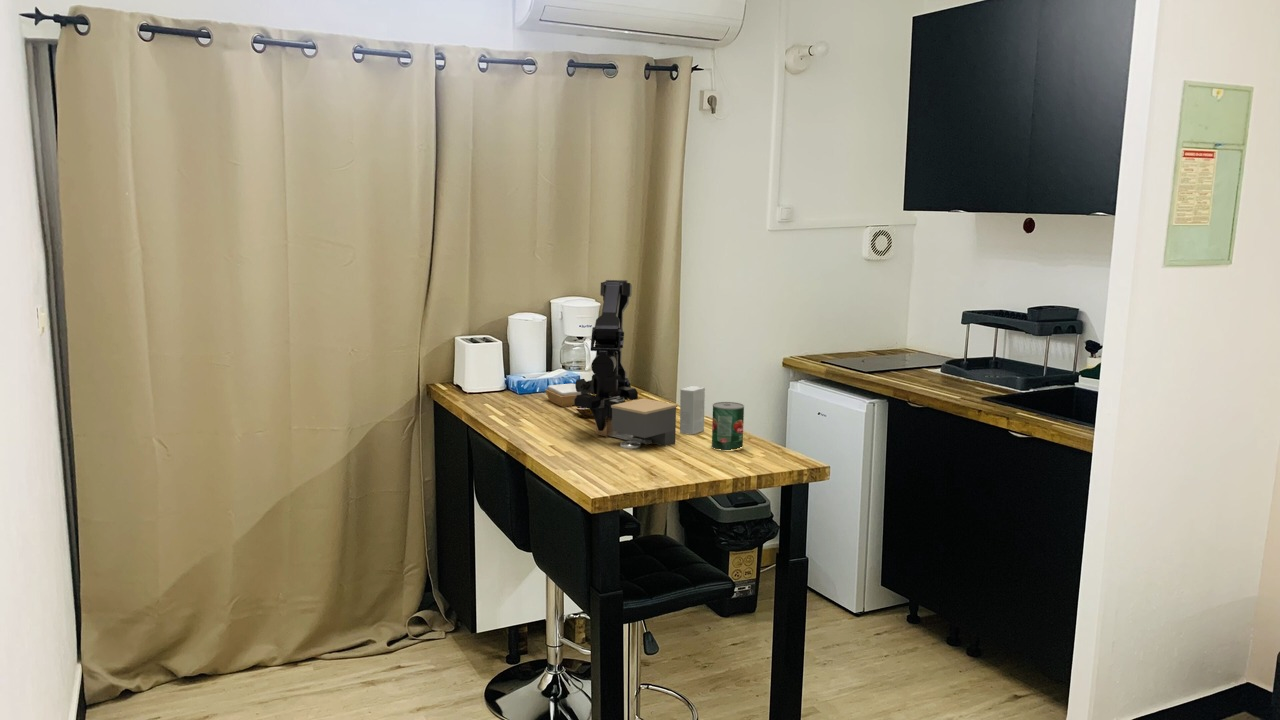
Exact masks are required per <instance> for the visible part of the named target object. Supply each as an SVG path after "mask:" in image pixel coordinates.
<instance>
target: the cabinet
mask: <svg viewBox="0 0 1280 720" xmlns="http://www.w3.org/2000/svg"><path fill="white" fill-rule="evenodd" d="M611 408H612V431H615V432H620V433H624V434H629V435H633V436H638V437H642V438H648V439H652V443H651V444H653V445H657V446H662V447H663V446H664V447H667V446H668V447H669V446H670V445H675V444H676V434H677V433H676V429H677V408H678V404H675V403H670V402H669V403H668V402H664V401H659V400H654V399H650V398H649V399H648V398H639V399H635V400H629V401H626V402H624V403H619V404H614V405H611Z"/></svg>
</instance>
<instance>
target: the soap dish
mask: <svg viewBox="0 0 1280 720" xmlns="http://www.w3.org/2000/svg"><path fill="white" fill-rule="evenodd" d="M575 385H576V383H565V384H564V383H561V384H551V385H550V384H549V385H547V388H546V389H544V391H545V393H546V396H547V399H548V401H550V402H552V403H554V404H555V405H557V406H559V407H562V408H566V407H567V406H568V407H572V406H571V405H574V398H575V397H576V396H577V395H581V392H577V391H576V387H575ZM568 407H567V408H568Z"/></svg>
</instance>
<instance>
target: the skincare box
mask: <svg viewBox="0 0 1280 720" xmlns="http://www.w3.org/2000/svg"><path fill="white" fill-rule="evenodd" d="M705 391H706V388H705V387H702V386H696V385H691V386H687V387H684V388H680V392H679V393H680V402H679V403H680V404H679V405H680V406H679V409H680V411H679V420H680V421H679V433H680V434H685V435H686V434H687V435H691V436H692V435H696V434H699V433H701V432H704V431H705V401H706V400H705V397H706V394H705Z"/></svg>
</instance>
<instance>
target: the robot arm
mask: <svg viewBox="0 0 1280 720" xmlns="http://www.w3.org/2000/svg"><path fill="white" fill-rule="evenodd" d="M632 293H633V292H632V284H631V283H630V282H628V280H625V279H623V280H621V279H616V280H614V279H613V280H612V279H606V280H605V281H604V282H600V292H599V294H600V295H599V296H601V297H603V298H602V300H603V304H602V309H601V315H600V316H599V317H597V318H596V320H595V323H594V326H592V330H591V338H590V351H591V352H596V353H595V357H594V359H593V360H592V362H591V371H592V373H593V374H592V376H591V379H590V380H585V378H580V379H576V380H575V384H576V385H575V387H576V391H577V392H581V395H577V396H576V397H575V398H574V406H573V407H577V408H583V409H587V410H588V409H589V410H590V412H591V414H592V415H593V418H594V420H595V425H596V424H597V427H598V430H599V431H603V427H604V423H605V418H606V417H610V418H612V408H611V405H614V404H619V403H624V402H627V401H628V400H629V401H633V400H638V397H639V395H638V394H639V392H638V390H637V389H636V387H632V385H631V382H630V380H629V377H627V375H628V374H627V371H626V369H625V368H624V366H623V363H622V357H623V356H622V355H623V354H622V352H623V349H624V344H625V343H624V342H625V331H624V330H623V327H624V324H623V323H624V312H625V310H626V309H627V307H628V306H629V304H630V298H631V297H632ZM626 400H627V401H626Z"/></svg>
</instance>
